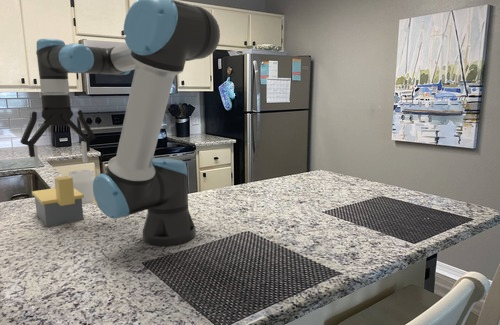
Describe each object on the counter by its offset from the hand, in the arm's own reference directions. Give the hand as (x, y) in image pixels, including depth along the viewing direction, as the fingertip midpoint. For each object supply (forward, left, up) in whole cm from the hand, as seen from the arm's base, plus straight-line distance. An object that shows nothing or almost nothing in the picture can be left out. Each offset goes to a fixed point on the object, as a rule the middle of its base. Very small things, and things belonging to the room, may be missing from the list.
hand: (62, 164), depth 115 cm
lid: (+8, 0, -12) cm, 15 cm away
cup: (+26, -12, -20) cm, 35 cm away
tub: (+11, 0, -20) cm, 23 cm away
